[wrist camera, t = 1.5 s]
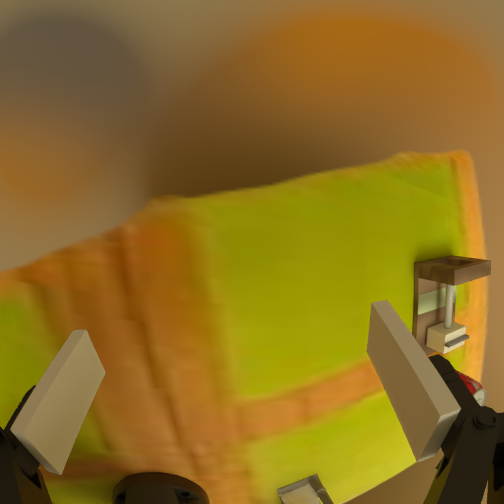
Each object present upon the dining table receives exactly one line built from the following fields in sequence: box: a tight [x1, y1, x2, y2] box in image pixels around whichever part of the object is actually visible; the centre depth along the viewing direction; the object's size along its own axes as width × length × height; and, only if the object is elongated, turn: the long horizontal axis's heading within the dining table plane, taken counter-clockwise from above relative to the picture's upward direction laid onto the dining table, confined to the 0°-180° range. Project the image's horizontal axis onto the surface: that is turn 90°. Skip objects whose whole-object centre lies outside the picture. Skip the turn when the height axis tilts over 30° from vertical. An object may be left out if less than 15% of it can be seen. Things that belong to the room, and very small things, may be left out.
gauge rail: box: [412, 256, 491, 355], centre depth 39 cm, size 15×9×8 cm, turn 6°
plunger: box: [426, 284, 469, 354], centre depth 39 cm, size 12×5×5 cm, turn 6°
